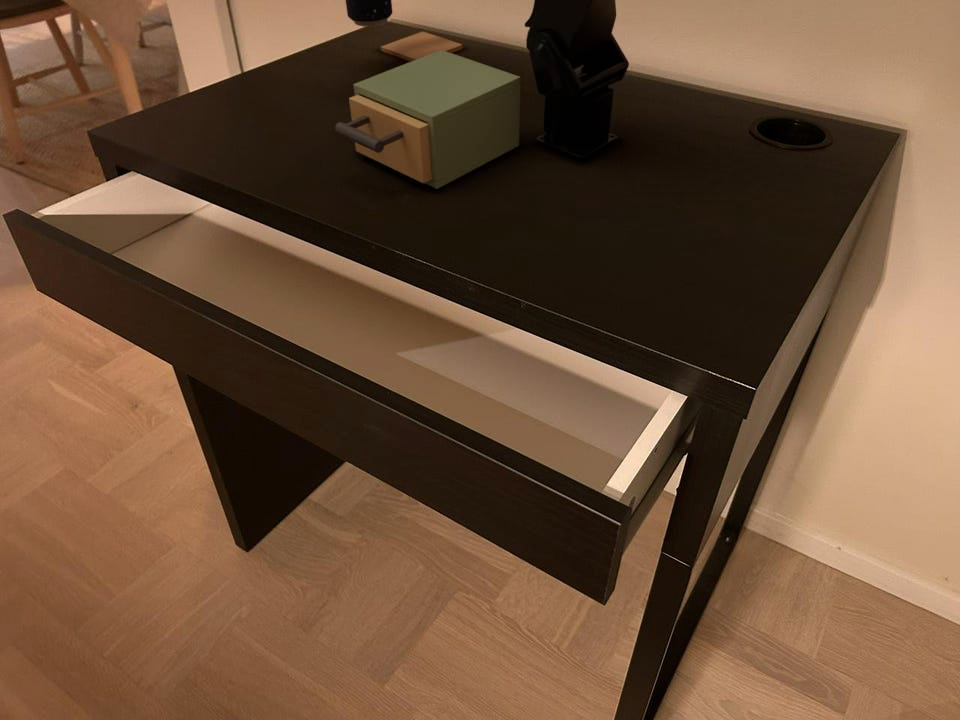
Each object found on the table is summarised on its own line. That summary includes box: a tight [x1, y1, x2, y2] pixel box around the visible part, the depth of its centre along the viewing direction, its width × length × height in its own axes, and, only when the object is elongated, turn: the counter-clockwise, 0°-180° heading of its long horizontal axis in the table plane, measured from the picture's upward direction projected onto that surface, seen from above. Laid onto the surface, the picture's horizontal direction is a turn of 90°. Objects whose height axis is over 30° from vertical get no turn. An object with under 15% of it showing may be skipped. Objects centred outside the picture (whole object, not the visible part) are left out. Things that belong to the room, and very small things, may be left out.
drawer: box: [334, 95, 432, 184], centre depth 77 cm, size 15×10×6 cm
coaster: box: [380, 30, 464, 62], centre depth 103 cm, size 8×8×1 cm
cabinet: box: [352, 50, 522, 190], centre depth 79 cm, size 13×12×8 cm
